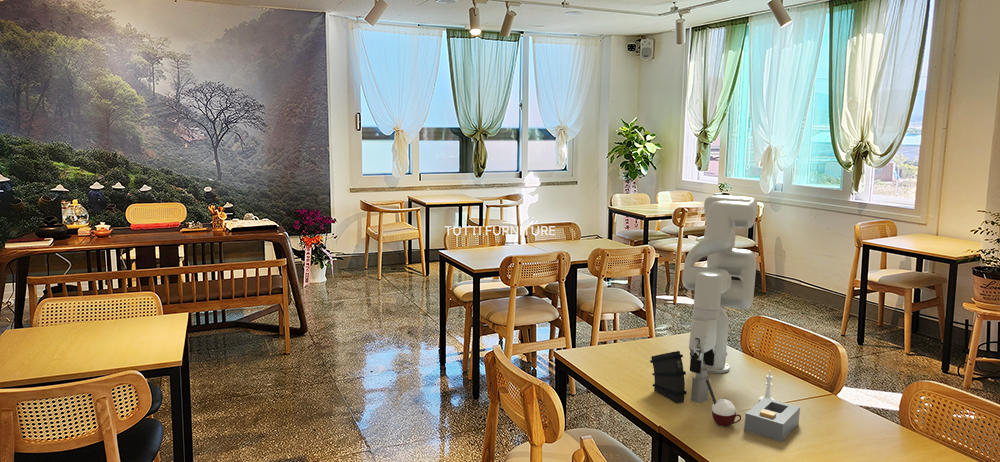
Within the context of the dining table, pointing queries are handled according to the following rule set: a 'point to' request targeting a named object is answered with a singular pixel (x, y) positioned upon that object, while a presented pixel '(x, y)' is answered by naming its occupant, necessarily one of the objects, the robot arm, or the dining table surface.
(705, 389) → the power adapter
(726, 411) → the cocoa
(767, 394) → the chess piece
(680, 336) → the dining table surface
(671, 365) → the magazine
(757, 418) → the socket block
